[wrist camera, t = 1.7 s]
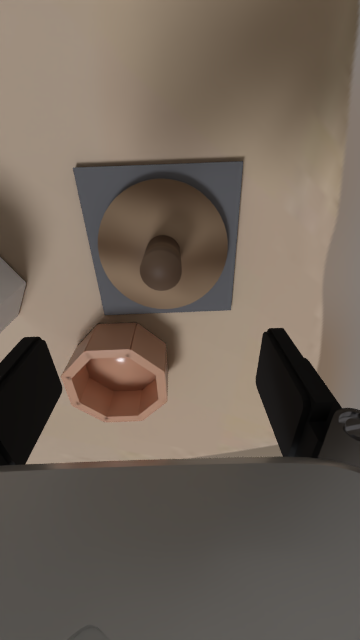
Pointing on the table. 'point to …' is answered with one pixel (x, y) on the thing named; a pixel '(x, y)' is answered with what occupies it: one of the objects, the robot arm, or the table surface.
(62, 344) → the table surface
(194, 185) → the mat
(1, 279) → the jar
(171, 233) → the lid
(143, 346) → the bowl
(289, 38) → the table surface
